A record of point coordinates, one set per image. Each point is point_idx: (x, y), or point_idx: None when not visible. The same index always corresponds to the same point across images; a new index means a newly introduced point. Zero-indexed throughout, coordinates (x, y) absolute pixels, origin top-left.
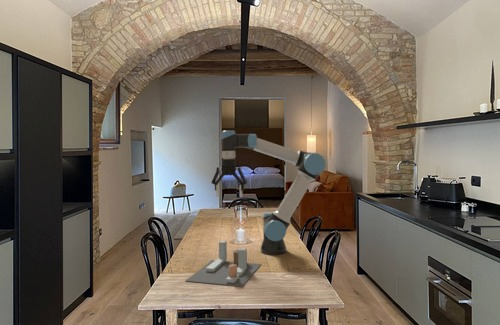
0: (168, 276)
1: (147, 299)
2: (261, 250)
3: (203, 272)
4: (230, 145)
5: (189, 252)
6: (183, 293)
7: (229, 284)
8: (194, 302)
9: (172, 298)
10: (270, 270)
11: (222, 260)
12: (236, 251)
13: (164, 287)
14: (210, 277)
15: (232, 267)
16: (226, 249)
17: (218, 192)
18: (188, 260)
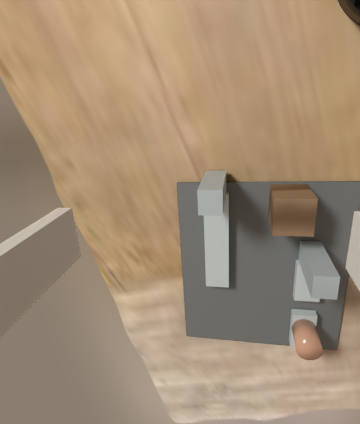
0: (131, 310)
1: (165, 405)
2: (342, 2)
3: (202, 285)
4: None
5: (55, 106)
6: (214, 382)
7: None
8: (254, 411)
9: (205, 400)
10: None
11: (226, 215)
12: (280, 224)
13: (161, 362)
14: (236, 312)
15: (311, 358)
16: (224, 182)
17: (52, 257)
18: (104, 191)
